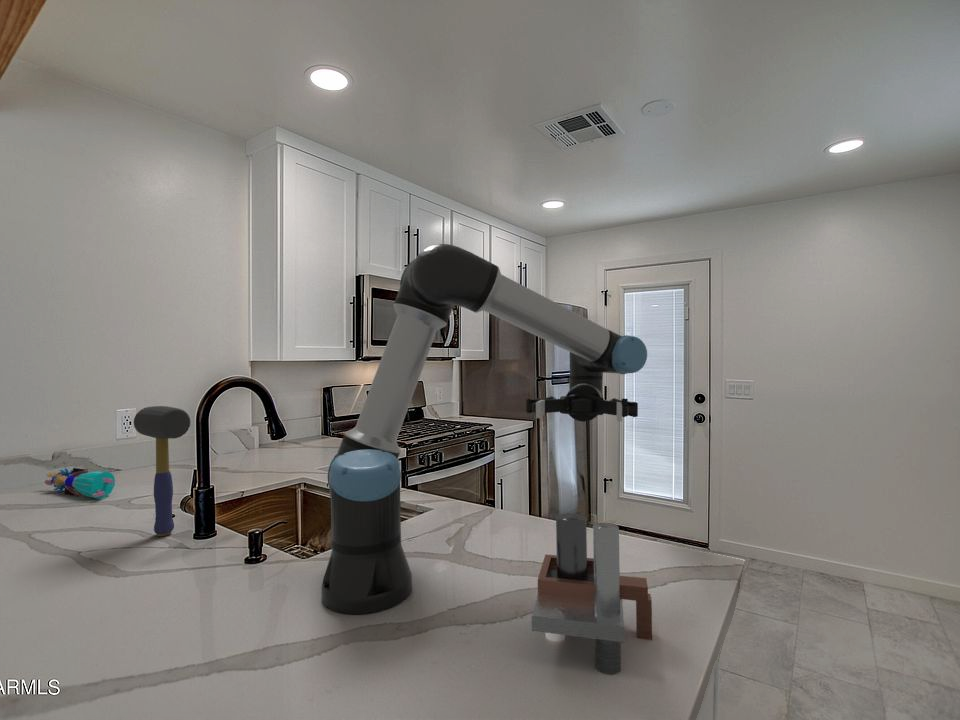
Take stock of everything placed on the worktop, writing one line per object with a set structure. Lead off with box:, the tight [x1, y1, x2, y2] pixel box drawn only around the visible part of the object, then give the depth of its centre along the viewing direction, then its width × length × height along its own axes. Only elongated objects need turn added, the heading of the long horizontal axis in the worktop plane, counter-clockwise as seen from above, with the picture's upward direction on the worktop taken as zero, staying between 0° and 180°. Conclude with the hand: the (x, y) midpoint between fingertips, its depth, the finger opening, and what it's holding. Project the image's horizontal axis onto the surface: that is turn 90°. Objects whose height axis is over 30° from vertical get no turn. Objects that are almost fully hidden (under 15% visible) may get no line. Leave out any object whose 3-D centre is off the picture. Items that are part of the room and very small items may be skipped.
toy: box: [44, 467, 116, 500], centre depth 150 cm, size 8×8×30 cm
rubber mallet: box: [133, 405, 191, 537], centre depth 113 cm, size 12×8×30 cm, turn 60°
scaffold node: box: [531, 522, 653, 675], centre depth 68 cm, size 16×15×18 cm
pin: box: [555, 513, 588, 581], centre depth 72 cm, size 4×4×16 cm
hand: (577, 411), depth 83 cm, fingers open, 13 cm apart
